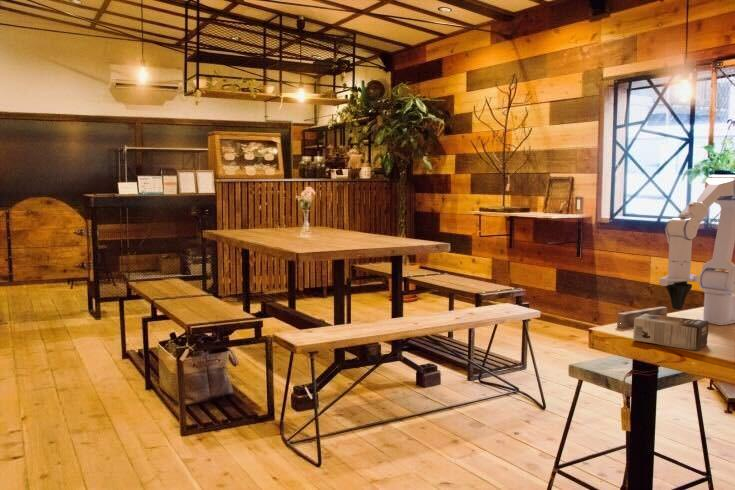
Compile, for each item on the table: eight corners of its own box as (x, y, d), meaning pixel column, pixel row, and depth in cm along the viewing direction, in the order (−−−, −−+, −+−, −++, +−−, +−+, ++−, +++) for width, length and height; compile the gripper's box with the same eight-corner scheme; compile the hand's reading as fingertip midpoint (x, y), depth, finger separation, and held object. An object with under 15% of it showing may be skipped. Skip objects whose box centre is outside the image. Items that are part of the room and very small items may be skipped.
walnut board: (660, 319, 204) (661, 306, 204) (666, 320, 202) (667, 307, 202) (617, 326, 194) (617, 313, 194) (622, 328, 192) (623, 314, 192)
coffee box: (645, 312, 183) (709, 320, 173) (644, 335, 184) (707, 344, 174) (633, 317, 176) (700, 326, 166) (632, 341, 177) (698, 351, 167)
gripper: (676, 264, 180) (674, 314, 181) (708, 260, 187) (706, 308, 188) (653, 261, 186) (651, 309, 187) (685, 258, 193) (683, 304, 194)
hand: (677, 308), depth 188 cm, fingers closed
